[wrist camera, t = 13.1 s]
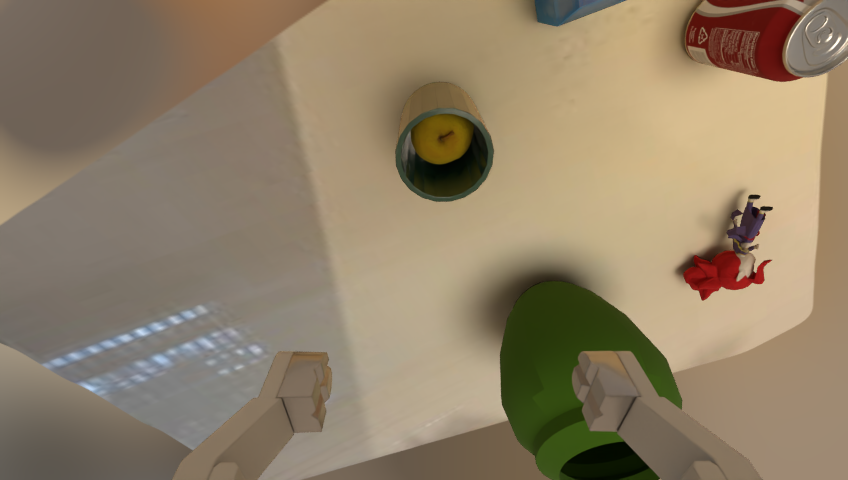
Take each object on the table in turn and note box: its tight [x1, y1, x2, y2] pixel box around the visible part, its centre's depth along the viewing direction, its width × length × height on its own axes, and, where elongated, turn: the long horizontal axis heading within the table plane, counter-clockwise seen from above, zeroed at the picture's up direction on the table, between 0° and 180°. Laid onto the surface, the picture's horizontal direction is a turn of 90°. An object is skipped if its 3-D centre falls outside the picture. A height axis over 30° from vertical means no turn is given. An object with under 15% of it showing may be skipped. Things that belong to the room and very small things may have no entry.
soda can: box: [685, 0, 848, 82], centre depth 31 cm, size 7×7×12 cm
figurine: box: [683, 195, 773, 300], centre depth 48 cm, size 6×8×15 cm
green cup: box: [395, 82, 494, 202], centre depth 37 cm, size 9×9×11 cm
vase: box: [500, 281, 682, 480], centre depth 46 cm, size 20×20×24 cm
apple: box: [410, 114, 474, 164], centre depth 37 cm, size 6×6×8 cm
